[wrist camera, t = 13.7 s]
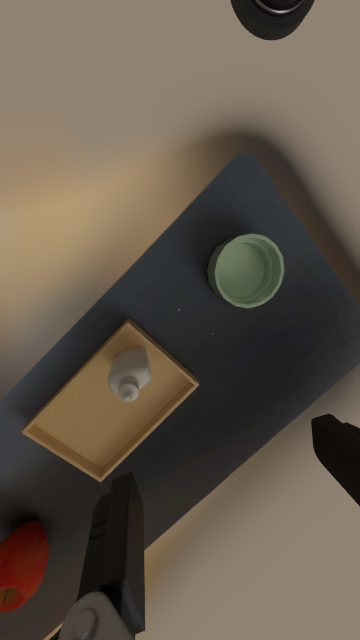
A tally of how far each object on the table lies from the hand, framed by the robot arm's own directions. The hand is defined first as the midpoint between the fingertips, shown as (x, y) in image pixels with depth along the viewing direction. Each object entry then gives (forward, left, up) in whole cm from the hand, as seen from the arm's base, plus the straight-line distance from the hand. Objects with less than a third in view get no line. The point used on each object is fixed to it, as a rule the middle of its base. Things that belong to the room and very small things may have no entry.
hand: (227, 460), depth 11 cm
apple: (+32, -31, -30) cm, 54 cm away
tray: (+12, -11, -30) cm, 34 cm away
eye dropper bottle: (+6, -7, -30) cm, 31 cm away
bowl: (-4, +13, -30) cm, 33 cm away
